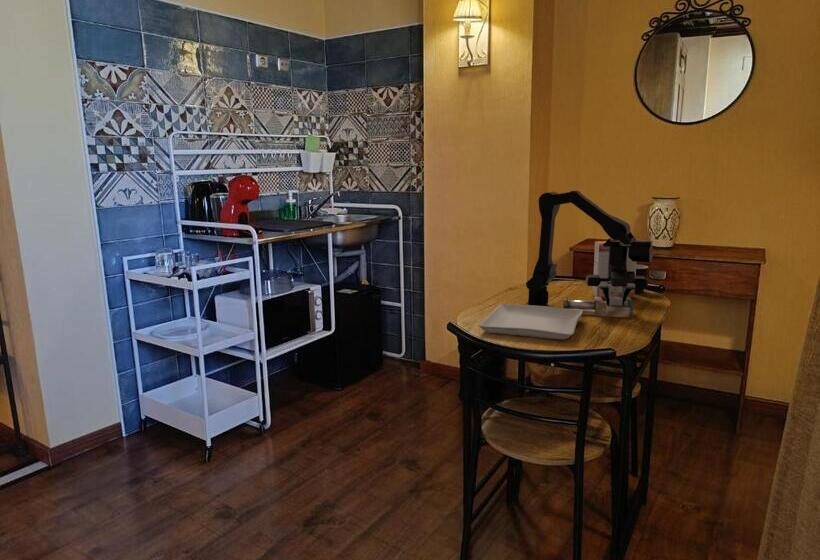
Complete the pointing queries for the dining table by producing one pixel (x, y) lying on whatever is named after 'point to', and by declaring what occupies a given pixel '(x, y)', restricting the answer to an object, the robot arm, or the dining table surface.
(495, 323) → the square plate
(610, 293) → the cracker box
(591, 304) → the shaft
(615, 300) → the block
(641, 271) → the coffee mug
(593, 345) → the dining table surface
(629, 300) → the bearing bed
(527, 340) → the dining table surface
